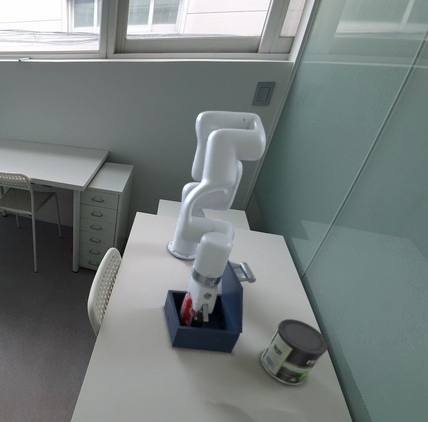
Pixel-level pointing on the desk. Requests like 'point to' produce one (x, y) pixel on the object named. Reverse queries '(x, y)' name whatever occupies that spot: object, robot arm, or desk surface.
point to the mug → (238, 273)
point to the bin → (209, 333)
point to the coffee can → (293, 351)
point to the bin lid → (235, 290)
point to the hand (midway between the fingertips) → (192, 315)
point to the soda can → (187, 311)
